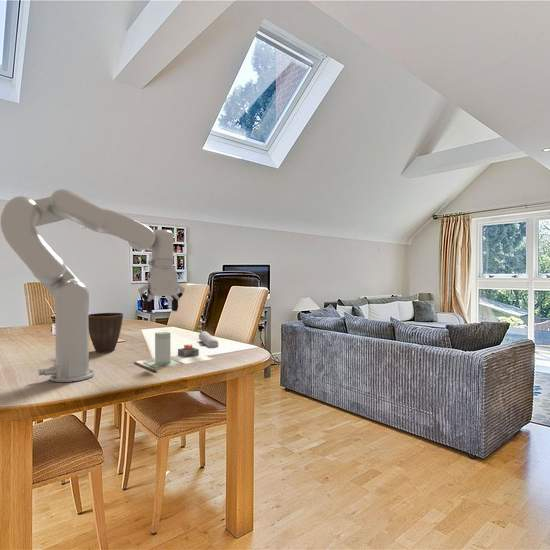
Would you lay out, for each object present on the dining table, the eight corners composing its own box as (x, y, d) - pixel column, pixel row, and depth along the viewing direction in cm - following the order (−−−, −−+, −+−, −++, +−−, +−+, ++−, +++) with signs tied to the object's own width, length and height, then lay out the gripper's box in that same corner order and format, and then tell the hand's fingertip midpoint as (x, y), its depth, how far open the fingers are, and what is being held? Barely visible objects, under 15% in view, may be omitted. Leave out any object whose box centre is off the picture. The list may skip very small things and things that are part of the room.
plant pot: (120, 353, 163) (120, 315, 163) (82, 355, 160) (81, 316, 160) (125, 347, 178) (125, 312, 178) (90, 348, 174) (90, 313, 174)
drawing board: (153, 372, 131) (153, 362, 131) (134, 364, 144) (133, 354, 144) (216, 361, 147) (216, 352, 147) (194, 354, 160) (193, 346, 160)
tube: (221, 340, 172) (210, 332, 195) (210, 337, 170) (200, 329, 194) (217, 352, 171) (207, 342, 195) (206, 349, 170) (197, 340, 193)
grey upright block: (160, 365, 137) (159, 334, 137) (155, 363, 140) (155, 332, 140) (170, 363, 140) (170, 332, 140) (165, 361, 143) (165, 331, 143)
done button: (186, 352, 152) (186, 346, 152) (182, 351, 155) (182, 345, 155) (193, 351, 154) (193, 345, 154) (189, 350, 157) (189, 344, 157)
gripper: (143, 263, 132) (142, 314, 131) (189, 264, 143) (188, 311, 143) (134, 264, 137) (134, 312, 137) (179, 265, 149) (179, 309, 149)
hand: (162, 311), depth 140 cm, fingers open, 9 cm apart
